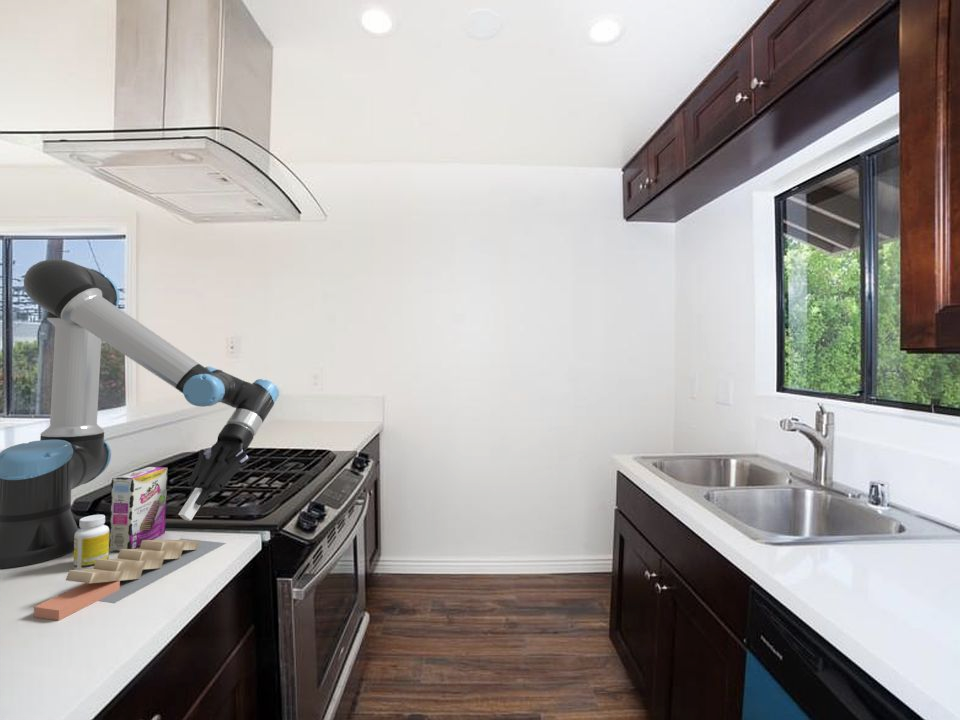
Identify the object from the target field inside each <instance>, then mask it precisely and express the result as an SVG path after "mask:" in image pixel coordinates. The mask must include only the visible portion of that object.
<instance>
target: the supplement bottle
mask: <svg viewBox="0 0 960 720" xmlns="http://www.w3.org/2000/svg"><path fill="white" fill-rule="evenodd" d="M105 523H106V516H105V514H92V515H88V516H87V515H86V516H84V517H81V518H80V519H79V525H78V527H79V528H80V529H79V528H78V531H77V532H76V533H75V535H74V550H73V570H80V569H93V568H94V565H95V562H96V559H110V558H109V555H110V554H109V553H110V552H109V543H110V527H109V526H108V525H106V524H105Z"/></svg>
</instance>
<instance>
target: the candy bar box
mask: <svg viewBox="0 0 960 720" xmlns="http://www.w3.org/2000/svg"><path fill="white" fill-rule="evenodd" d="M168 470H169V469H168V467H164V466H163V467H162V466H161V467H160V466H147V467H144V468H141V469H139V470H135V471H131V472H128V473H124V474H121V475H117V476H114V477H112V478H111V495H110V496H111V499H110V500H111V502H110V520H109V522H110V524H109V526H110V527H109V553H119V552H120V549H139V548H140V545H141V542H142V540H156V539H158V538H159V537H161V536H163V535H165V534H166V517H167V516H166V515H167V513H166V512H167V495H168V494H167V493H168V492H167V487H168V472H169V471H168Z"/></svg>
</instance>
